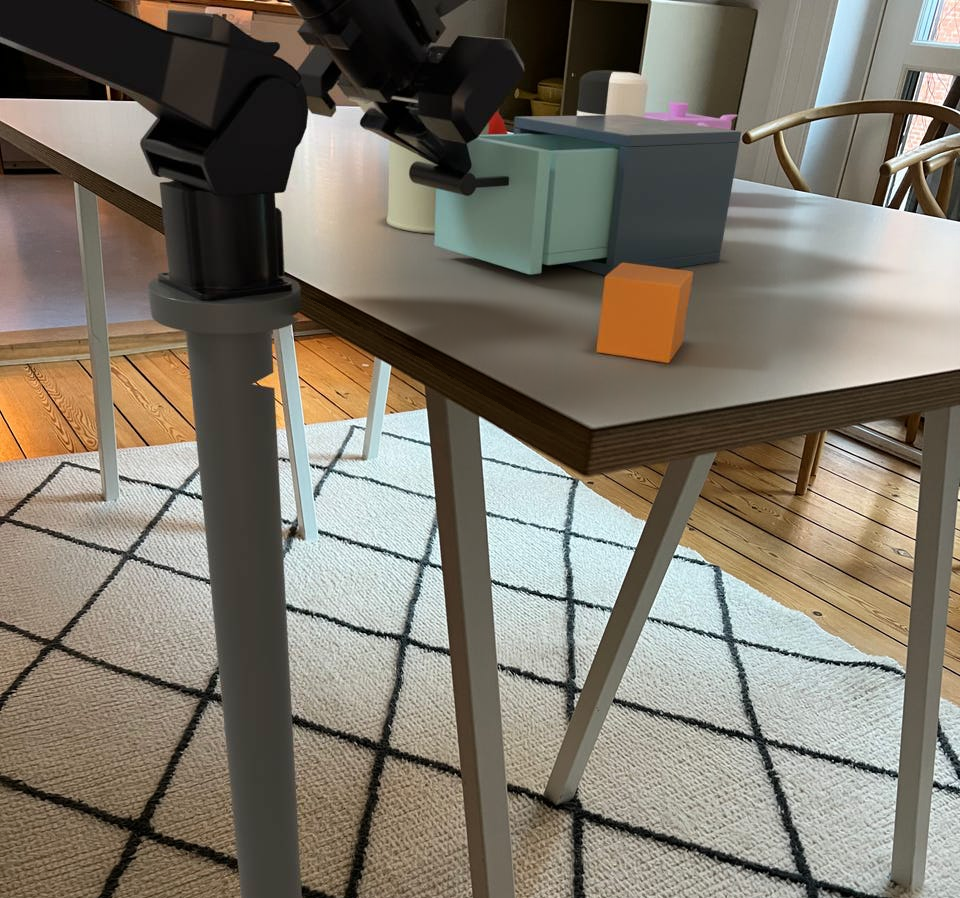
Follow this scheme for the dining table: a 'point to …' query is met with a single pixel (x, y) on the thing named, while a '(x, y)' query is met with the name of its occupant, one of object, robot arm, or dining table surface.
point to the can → (410, 193)
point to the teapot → (691, 117)
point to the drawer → (525, 200)
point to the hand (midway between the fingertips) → (465, 171)
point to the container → (612, 93)
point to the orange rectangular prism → (644, 312)
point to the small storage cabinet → (657, 186)
